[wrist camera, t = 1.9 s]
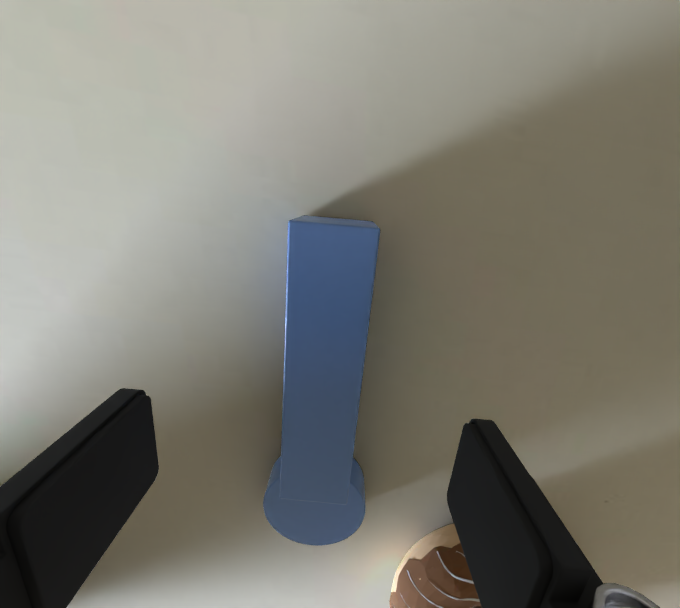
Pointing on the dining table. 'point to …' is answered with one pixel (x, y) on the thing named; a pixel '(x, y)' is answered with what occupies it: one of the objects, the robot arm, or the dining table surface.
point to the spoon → (323, 379)
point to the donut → (435, 574)
